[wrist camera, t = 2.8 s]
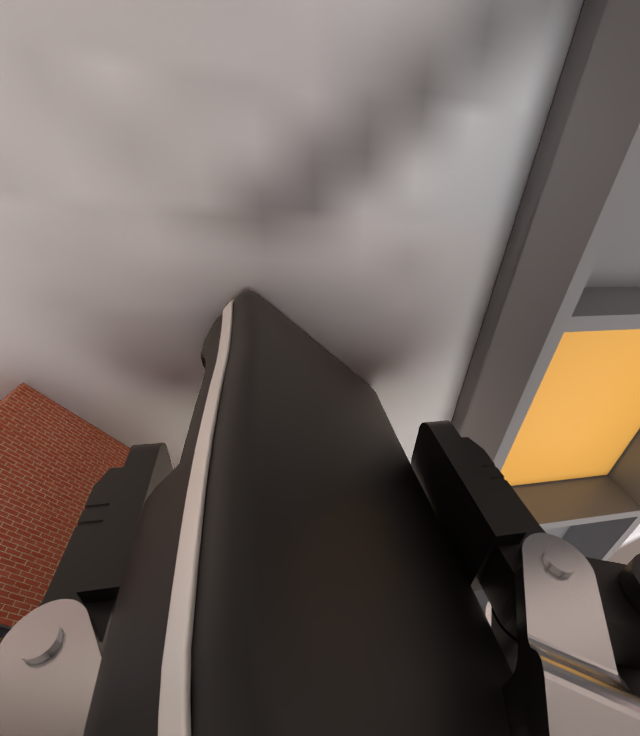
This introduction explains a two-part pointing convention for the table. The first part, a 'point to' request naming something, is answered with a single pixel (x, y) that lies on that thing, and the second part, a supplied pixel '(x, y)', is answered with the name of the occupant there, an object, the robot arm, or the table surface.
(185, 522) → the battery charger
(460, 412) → the tray
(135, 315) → the table surface
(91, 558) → the robot arm
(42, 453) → the house
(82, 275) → the table surface
